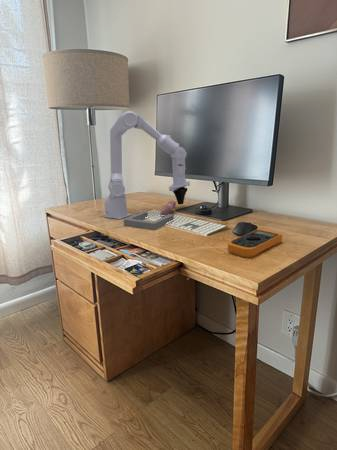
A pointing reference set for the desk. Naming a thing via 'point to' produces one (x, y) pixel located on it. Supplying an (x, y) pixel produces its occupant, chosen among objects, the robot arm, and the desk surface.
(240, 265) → the desk surface
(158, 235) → the desk surface
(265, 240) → the multimeter
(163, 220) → the tray
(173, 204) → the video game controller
